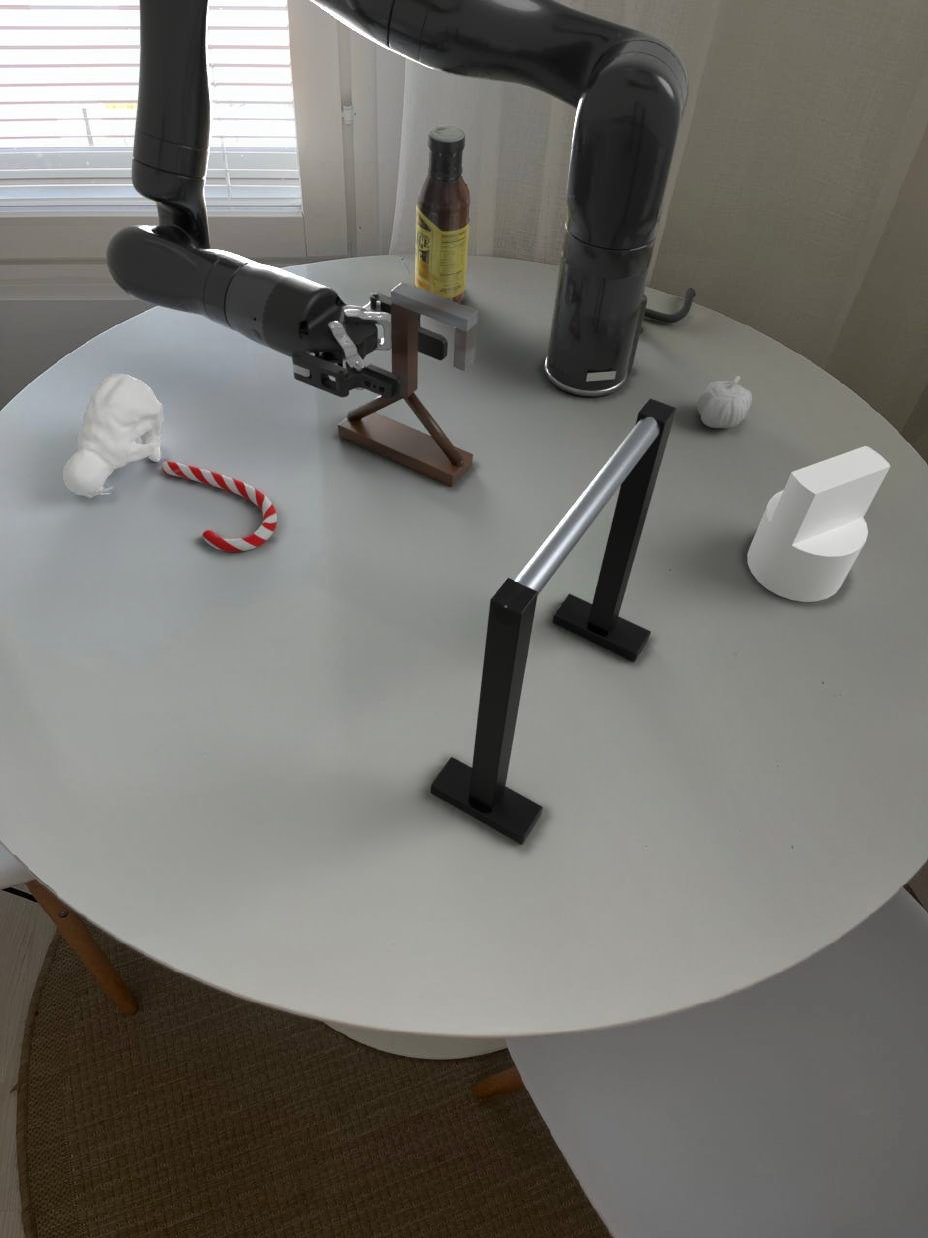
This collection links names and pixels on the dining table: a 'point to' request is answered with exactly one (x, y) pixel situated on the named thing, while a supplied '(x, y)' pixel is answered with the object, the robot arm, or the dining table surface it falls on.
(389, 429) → the hanger
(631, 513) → the rail
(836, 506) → the cylinder with rectangular tab
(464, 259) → the sauce bottle
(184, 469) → the candy cane
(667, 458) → the dining table surface
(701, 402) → the garlic
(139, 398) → the white lumpy figurine
